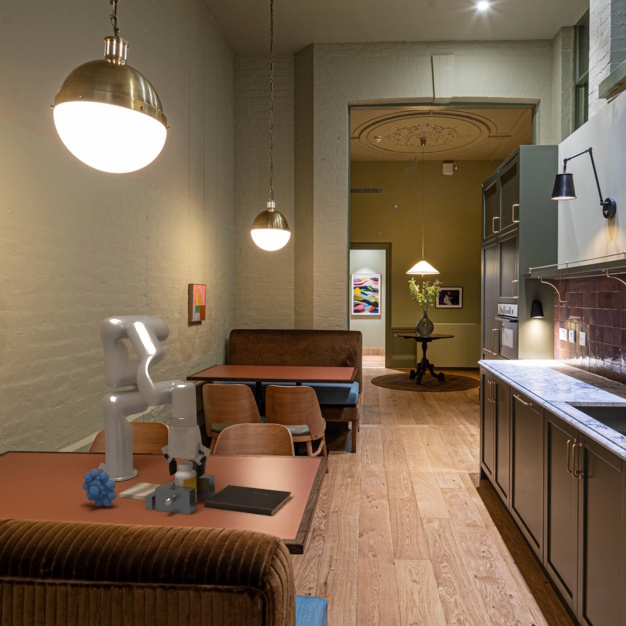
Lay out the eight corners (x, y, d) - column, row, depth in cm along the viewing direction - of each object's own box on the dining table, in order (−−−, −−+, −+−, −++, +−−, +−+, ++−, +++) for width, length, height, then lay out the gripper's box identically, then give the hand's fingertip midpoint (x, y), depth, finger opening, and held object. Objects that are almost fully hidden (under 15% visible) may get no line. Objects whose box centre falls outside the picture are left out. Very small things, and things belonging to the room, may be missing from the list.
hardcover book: (228, 491, 181) (228, 484, 181) (291, 498, 174) (291, 491, 174) (204, 509, 166) (203, 501, 166) (271, 518, 159) (271, 510, 159)
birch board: (119, 497, 176) (119, 493, 176) (139, 485, 187) (139, 482, 187) (147, 500, 173) (147, 496, 173) (166, 488, 183) (166, 485, 183)
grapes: (74, 510, 165) (73, 472, 165) (88, 502, 172) (87, 465, 172) (108, 513, 163) (107, 474, 163) (120, 504, 170) (119, 467, 169)
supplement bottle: (200, 500, 172) (200, 461, 172) (189, 508, 166) (188, 467, 166) (183, 498, 174) (182, 459, 174) (171, 505, 168) (170, 465, 168)
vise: (139, 512, 163) (139, 490, 163) (173, 491, 181) (173, 471, 180) (184, 518, 158) (183, 495, 158) (214, 496, 176) (214, 475, 176)
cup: (201, 488, 183) (200, 465, 183) (181, 487, 184) (180, 464, 184) (209, 481, 190) (209, 459, 190) (190, 480, 192) (190, 458, 191)
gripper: (154, 423, 169) (156, 477, 169) (202, 425, 163) (204, 481, 163) (167, 418, 176) (169, 469, 176) (214, 420, 170) (216, 473, 170)
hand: (186, 475), depth 170 cm, fingers open, 9 cm apart
